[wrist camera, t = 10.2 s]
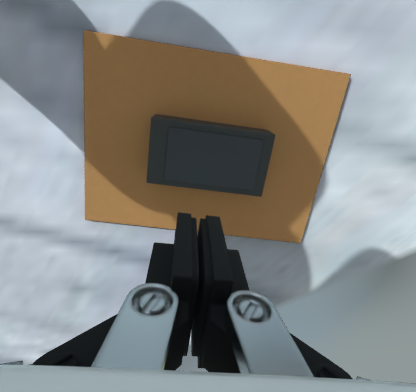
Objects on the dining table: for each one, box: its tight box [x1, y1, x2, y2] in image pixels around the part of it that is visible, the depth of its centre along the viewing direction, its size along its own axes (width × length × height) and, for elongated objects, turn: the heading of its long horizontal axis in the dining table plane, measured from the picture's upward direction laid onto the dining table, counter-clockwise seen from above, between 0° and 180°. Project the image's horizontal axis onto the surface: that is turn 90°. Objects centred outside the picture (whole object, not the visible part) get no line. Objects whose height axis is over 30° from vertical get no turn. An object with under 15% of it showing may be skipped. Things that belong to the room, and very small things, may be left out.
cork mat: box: [84, 30, 351, 243], centre depth 29 cm, size 24×18×1 cm
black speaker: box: [146, 114, 275, 197], centre depth 28 cm, size 3×6×11 cm
